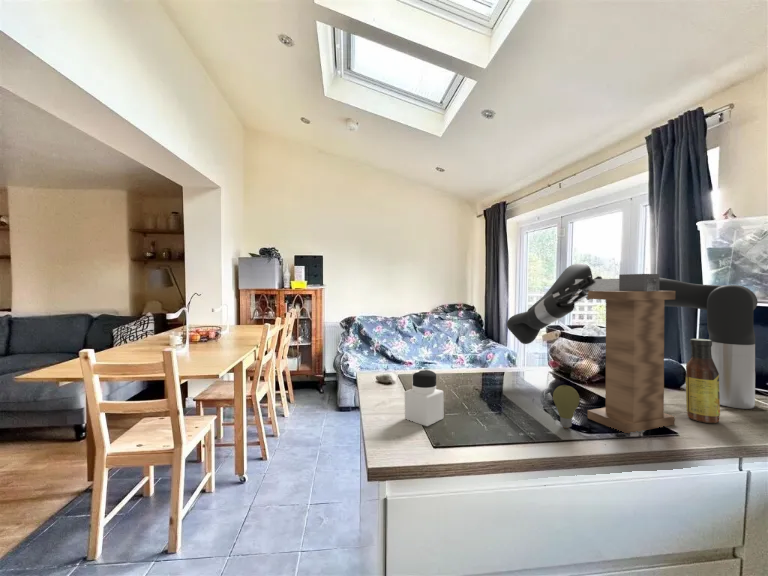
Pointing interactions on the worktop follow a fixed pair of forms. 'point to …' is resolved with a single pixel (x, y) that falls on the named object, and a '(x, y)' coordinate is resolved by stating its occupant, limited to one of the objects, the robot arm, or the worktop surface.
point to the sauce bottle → (702, 383)
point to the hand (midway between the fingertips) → (596, 279)
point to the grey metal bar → (626, 283)
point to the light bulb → (566, 403)
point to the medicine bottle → (424, 399)
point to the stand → (634, 360)
